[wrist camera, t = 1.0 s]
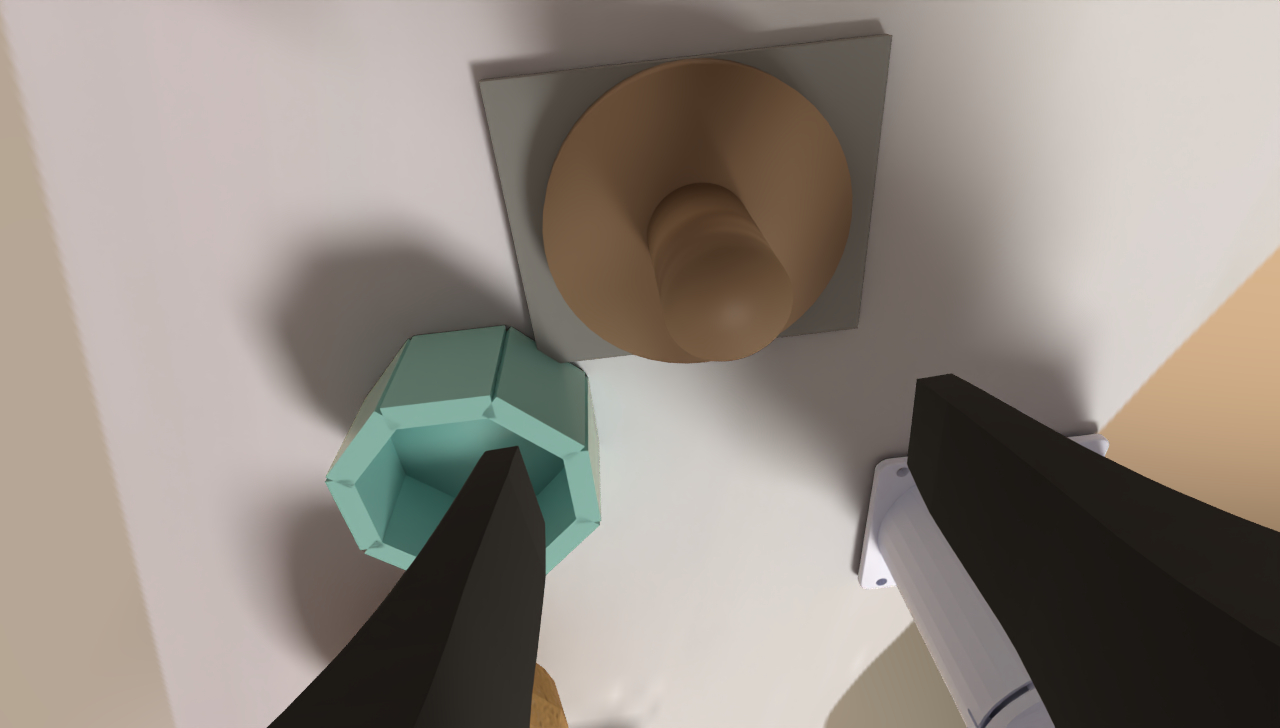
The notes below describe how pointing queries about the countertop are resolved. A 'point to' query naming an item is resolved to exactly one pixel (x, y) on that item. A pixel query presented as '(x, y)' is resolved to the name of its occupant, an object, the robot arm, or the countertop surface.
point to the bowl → (467, 440)
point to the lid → (696, 211)
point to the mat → (553, 101)
